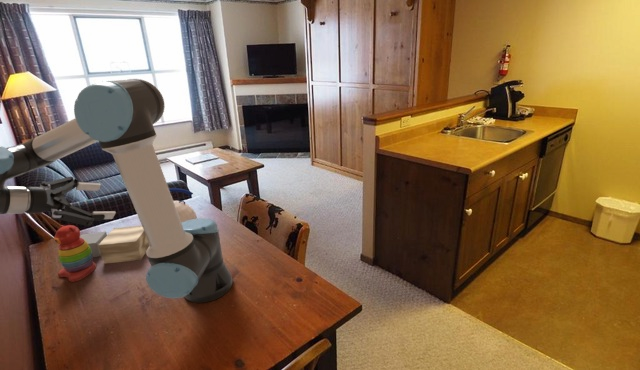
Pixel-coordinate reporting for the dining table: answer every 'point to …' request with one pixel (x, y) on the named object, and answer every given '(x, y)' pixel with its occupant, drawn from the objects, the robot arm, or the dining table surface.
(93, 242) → the stoneware block
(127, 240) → the birch block
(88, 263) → the stacking bear
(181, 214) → the kettle
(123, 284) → the dining table surface
